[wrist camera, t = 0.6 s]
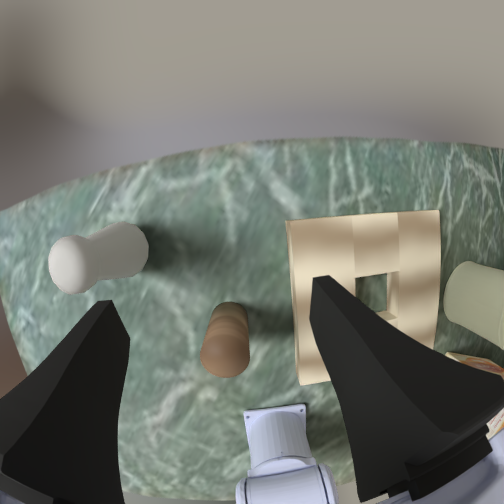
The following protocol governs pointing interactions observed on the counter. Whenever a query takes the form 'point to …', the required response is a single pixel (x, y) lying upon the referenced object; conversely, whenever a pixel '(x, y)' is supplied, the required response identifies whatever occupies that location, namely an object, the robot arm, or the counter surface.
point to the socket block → (366, 272)
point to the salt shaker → (97, 257)
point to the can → (477, 300)
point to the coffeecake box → (487, 365)
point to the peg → (226, 341)
